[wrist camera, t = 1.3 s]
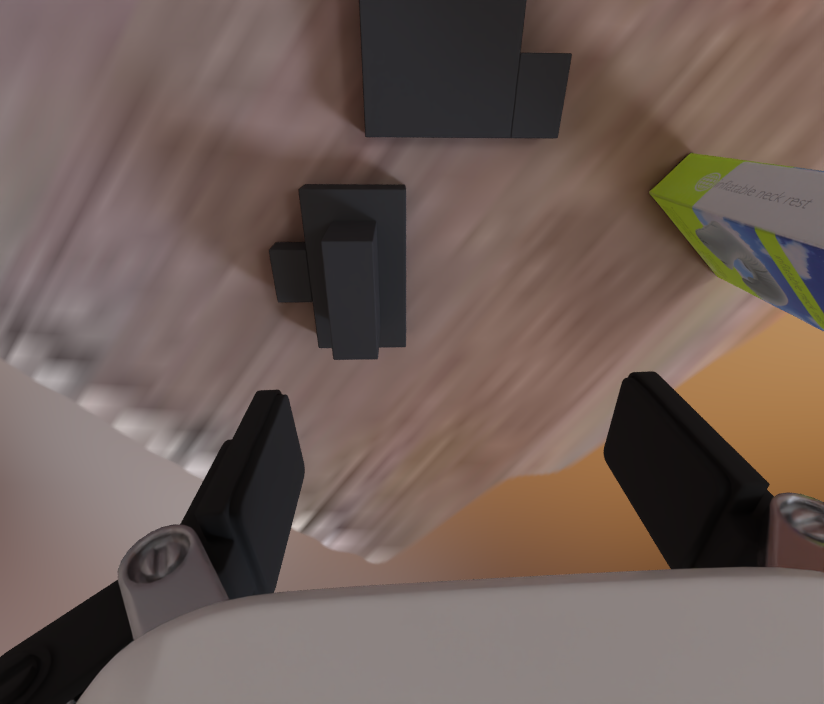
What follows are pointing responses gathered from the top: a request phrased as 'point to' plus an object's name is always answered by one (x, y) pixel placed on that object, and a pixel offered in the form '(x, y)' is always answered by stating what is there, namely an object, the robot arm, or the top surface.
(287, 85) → the top surface
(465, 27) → the base pad
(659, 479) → the robot arm
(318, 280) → the pad
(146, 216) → the top surface
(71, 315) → the top surface
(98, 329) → the top surface
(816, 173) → the box
